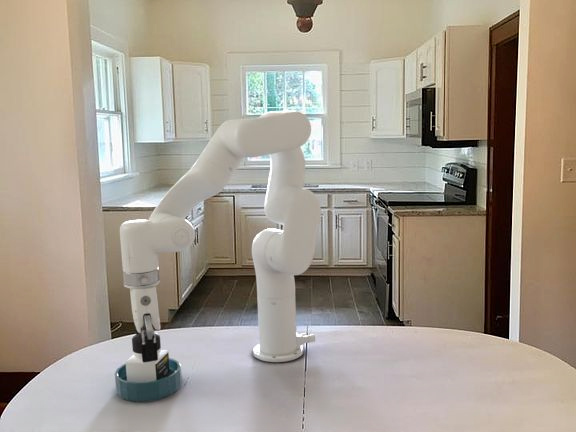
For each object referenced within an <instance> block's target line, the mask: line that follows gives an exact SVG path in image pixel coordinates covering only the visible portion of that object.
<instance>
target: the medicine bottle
mask: <svg viewBox="0 0 576 432" xmlns="http://www.w3.org/2000/svg"><path fill="white" fill-rule="evenodd" d="M145 335H147V334H144V336H145ZM155 338H156V342H157V354H158V360H156V361H150V362H143V361H142V350H141V344H142V337H141V333H138V334H136V333H135V335H133V337H132V338H131V345H132V346H131V347H132V356H129V358H128V359H127V360H125V364H126V373H127V381H128V382H150V381H155V380H159V379H162V378H166V377H168V376H170V368H169V358H170V356H169V350H167V349H163V350H162V347H161V345H162V344H161V335H160V334H159V333H158V332H155Z"/></svg>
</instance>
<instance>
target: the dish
mask: <svg viewBox="0 0 576 432" xmlns="http://www.w3.org/2000/svg"><path fill="white" fill-rule="evenodd" d="M169 368H170V376H168V377H166V378H162V379H159V380H155V381H150V382H128V381H127V373H126V363H124V364H122V365H120V366H119V367H118V368H117V369H116V370H115V372H114V383H115V392H116V395H117V396H119V397H120V398H121V399H124V400H126V401H129V402H135V403H146V402H154V401H159V400H162V399H164V398H167V397H169V396H171V395H173V394H174V393H176V392H177V391H178V390H179V389H180V388H182V383H183V377H182V376H183V375H182V364H181V363H180V362H179V361H178V360H176V359H175V358H171V357H169Z"/></svg>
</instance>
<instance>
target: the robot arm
mask: <svg viewBox="0 0 576 432" xmlns="http://www.w3.org/2000/svg"><path fill="white" fill-rule="evenodd" d="M311 133H312V125H311V121H310V120H309V118H308V116H306V115H305V114H304V113H302V112H300V111H298V110H276V111H267V112H264V113H262V114H260V115H259V116H258V117H252V118H234V119H233V118H232V119H228V120H225V121H224V122H223V123H222V124H220V125H219V126H218V128H217V129H216V131H215V132H214V134H213V136H212V137H211V138H210V139H209V141H208V143H207V144H206V146H205V147H204V149H203V150H202V152H201V153H200V155H199V157H198V158H197V160H196V161H195V162H194V164H193V165H192V166H191V167H190V169H189V170H188V171H187V172H186V173H185V174H184V175H183V176H181V178H180V179H179V180H178V181H177V182H176V183H175V184H173V185H172V186H171V187H170V189H168V191H167V192H166V193H165V194H164V195H163V197H161V199H160V200H159V202H158V203H157V205H156V206H155V208H154V209H153V211H152V213H151V214H150V216H149V217H148V219H133V220H127V221H125V222H123V223H122V224H121V225H120V227H119V239H120V253H121V263H122V264H121V265H122V276H123V278H122V279H123V286H124V288H126V289H129V293H130V305H131V314H132V319H133V323H134V326H135V335H136V334H138V333H141V337H142V344H141V350H142V361H143V362H150V361H156V360H158V354H157V342H156V338H155V333H156V332H155V331H161V319H160V310H159V309H160V308H159V300H158V293H157V287H156V286H158V285H159V284H160V283H161V281H160V269H159V254H158V253H179V252H183V251H185V250H188V249H189V248H190V247H191V246H192V245H193V244H194V242H195V239H196V230H195V228H194V226H193V225H192V223H191V222H190V221H189V220H187V219H186V218H187V216H188V215H189V214H190V212H191V211H192V210H193V209H194V208H195V207H196V206H198V205H199V204H200V203H202V202H204V201H206V200H208V199H210V198H212V197H214V196H216V195H218V194H219V193H221V192H222V191H223V190H224V189H225V188H226V186H227V184H228V182H229V181H230V179H231V177H232V176H233V174H234V173H235V172H236V170H237V169H238V167H239V166H240V164H241V162H242V161H243V159H244V158H259V157H264V156H269V161H270V169H269V176H268V183H267V188H266V194H265V199H264V206H263V210H264V215H265V216H266V219H268V220H269V221H270V222H272V223H274V224H277V225H281V226H282V229H278V228H267V229H263V230H262V231H260V232H259V233H257V234H256V236H255V237H254V238H253V241H252V244H251V257H252V261H253V262H252V263H253V267H254V271H255V280H256V297H257V322H258V323H257V325H258V344H257V345H255V346H254V347H253V349H252V350H253V353H252V354H253V356H254V358H256V359H257V360H260V361H263V362H267V363H286V362H291V361H294V360H296V359H298V358H300V357H301V356H302V355H303V354H304V344H309V343H316V336H315V334H313V333H312V334H307V333H306V332H302V333H298V332H297V331H298V330H297V303H296V299H297V298H296V282H295V276H300V275H302V274H304V273H305V272H306V271H307V270H308V269H309V268H310V266H311V264H312V262H313V259H314V256H315V252H316V247H317V241H318V236H319V229H320V224H321V219H322V217H321V216H322V208H321V203H320V201H319V198H318V197H317V195H316V194H315V193H314V192H313V191H311V190H310V189H307V188H304V181H305V175H306V160H305V156H304V155H305V154H304V151H303V150H302V148H301V147H302V146H304V145H305V144H306V143H307V142H308V140H309V139H310V137H311V135H312V134H311ZM144 334H147V335H145V336H144Z"/></svg>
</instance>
